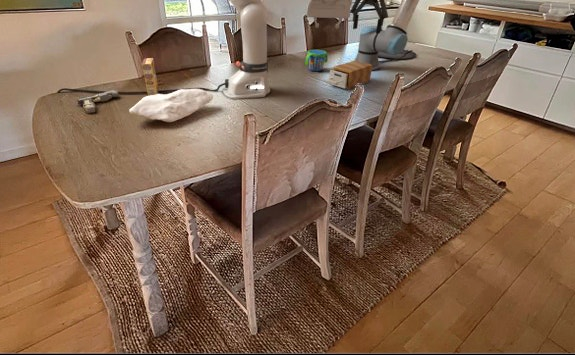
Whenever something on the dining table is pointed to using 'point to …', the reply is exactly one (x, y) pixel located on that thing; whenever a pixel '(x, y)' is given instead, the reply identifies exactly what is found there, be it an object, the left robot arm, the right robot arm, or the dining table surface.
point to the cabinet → (355, 72)
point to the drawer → (338, 78)
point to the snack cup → (316, 59)
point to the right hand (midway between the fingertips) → (366, 31)
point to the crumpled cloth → (171, 104)
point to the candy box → (150, 76)
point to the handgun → (95, 100)
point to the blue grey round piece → (408, 55)
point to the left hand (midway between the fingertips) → (327, 27)
